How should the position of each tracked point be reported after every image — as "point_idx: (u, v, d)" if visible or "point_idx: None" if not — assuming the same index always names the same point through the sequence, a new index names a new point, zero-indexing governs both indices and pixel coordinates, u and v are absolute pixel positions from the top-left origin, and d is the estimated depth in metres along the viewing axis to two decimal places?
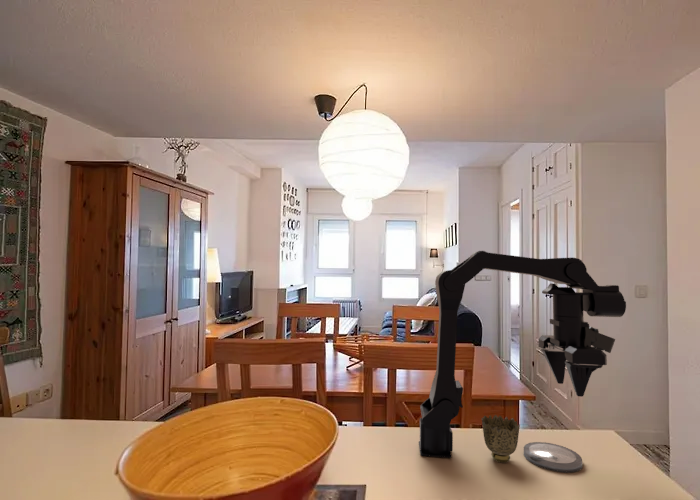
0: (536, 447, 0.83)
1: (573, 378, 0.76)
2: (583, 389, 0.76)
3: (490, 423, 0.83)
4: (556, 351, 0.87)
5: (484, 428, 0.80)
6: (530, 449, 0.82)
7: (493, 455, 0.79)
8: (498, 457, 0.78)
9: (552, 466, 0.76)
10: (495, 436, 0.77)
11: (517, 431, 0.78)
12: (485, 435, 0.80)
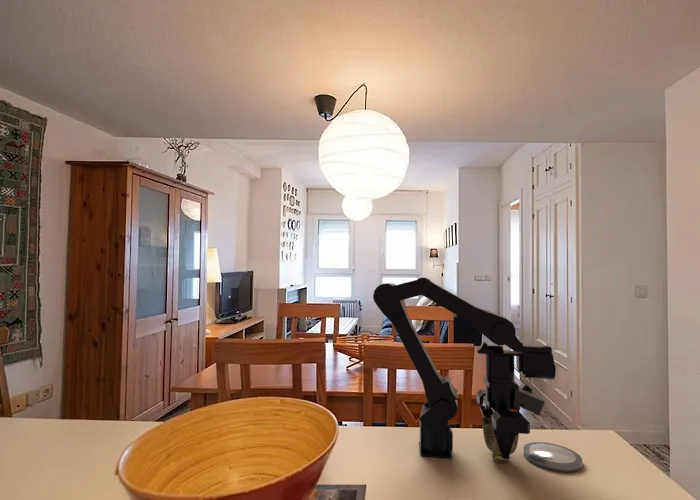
0: (536, 447, 0.83)
1: (497, 441, 0.76)
2: (508, 452, 0.76)
3: None
4: (493, 410, 0.85)
5: (484, 428, 0.80)
6: (530, 449, 0.82)
7: (493, 455, 0.79)
8: (498, 457, 0.78)
9: (552, 466, 0.76)
10: None
11: None
12: (485, 435, 0.80)
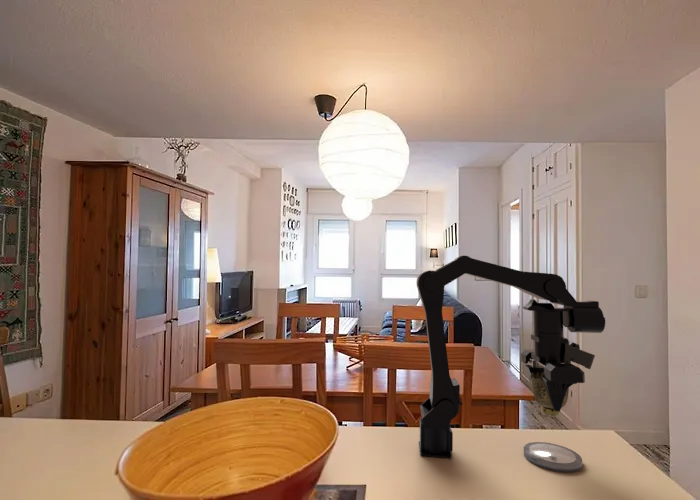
0: (536, 447, 0.83)
1: (550, 393, 0.77)
2: (560, 404, 0.77)
3: None
4: (540, 367, 0.86)
5: (534, 383, 0.81)
6: (530, 449, 0.82)
7: (543, 409, 0.81)
8: (549, 410, 0.80)
9: (552, 466, 0.76)
10: None
11: None
12: (535, 390, 0.81)
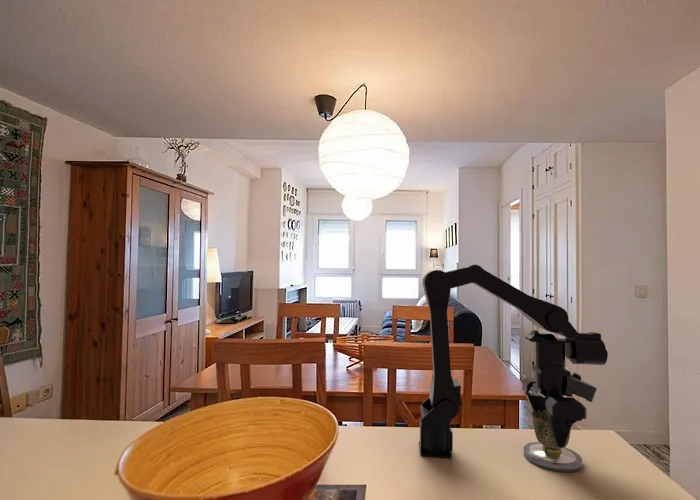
0: (536, 447, 0.83)
1: (554, 429, 0.75)
2: (564, 440, 0.76)
3: (539, 417, 0.84)
4: (539, 396, 0.87)
5: (536, 422, 0.80)
6: (530, 449, 0.82)
7: (545, 449, 0.80)
8: (551, 450, 0.79)
9: (552, 466, 0.76)
10: (548, 430, 0.78)
11: None
12: (537, 429, 0.80)
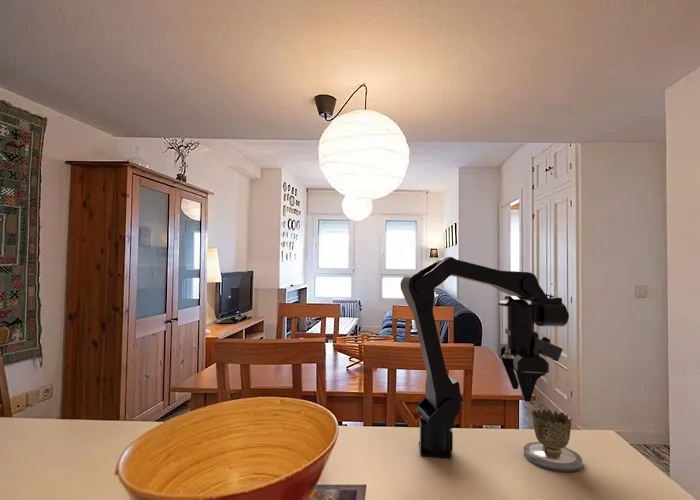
0: (536, 447, 0.83)
1: (520, 384, 0.82)
2: (530, 395, 0.82)
3: (539, 417, 0.84)
4: (512, 359, 0.93)
5: (536, 422, 0.80)
6: (530, 449, 0.82)
7: (545, 449, 0.80)
8: (550, 450, 0.79)
9: (552, 466, 0.76)
10: (548, 430, 0.78)
11: (570, 425, 0.78)
12: (537, 429, 0.80)
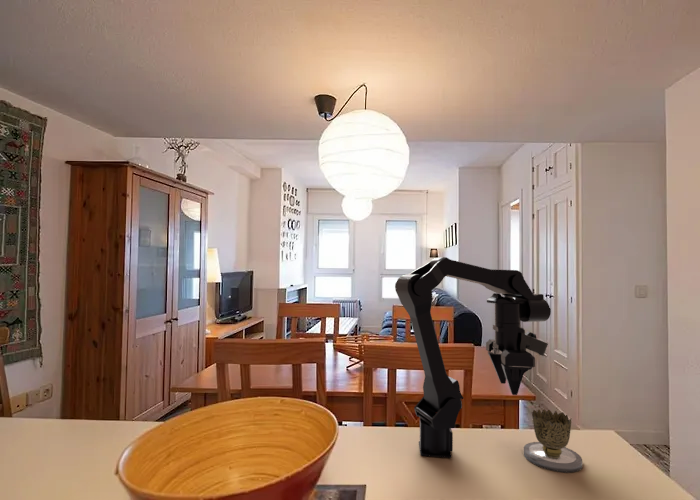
0: (536, 447, 0.83)
1: (508, 378, 0.85)
2: (517, 388, 0.85)
3: (539, 417, 0.84)
4: (500, 354, 0.96)
5: (535, 422, 0.80)
6: (530, 449, 0.82)
7: (545, 449, 0.80)
8: (551, 450, 0.79)
9: (552, 466, 0.76)
10: (548, 430, 0.78)
11: (570, 425, 0.78)
12: (537, 429, 0.80)
